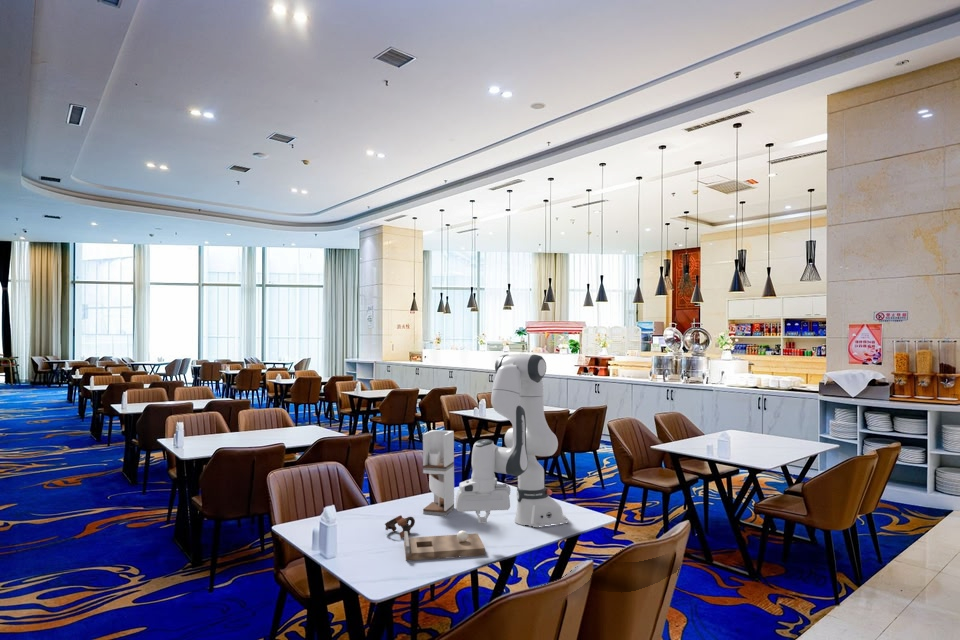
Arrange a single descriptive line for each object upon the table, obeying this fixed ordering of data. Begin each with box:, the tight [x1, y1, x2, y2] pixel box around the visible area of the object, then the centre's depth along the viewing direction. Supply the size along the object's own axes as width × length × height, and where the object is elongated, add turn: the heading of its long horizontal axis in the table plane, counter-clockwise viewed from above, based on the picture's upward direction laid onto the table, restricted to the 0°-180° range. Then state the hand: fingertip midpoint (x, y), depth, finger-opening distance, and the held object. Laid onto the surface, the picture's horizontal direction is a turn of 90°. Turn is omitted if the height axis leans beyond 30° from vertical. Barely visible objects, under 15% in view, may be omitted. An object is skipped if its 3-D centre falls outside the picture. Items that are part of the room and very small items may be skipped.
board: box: [403, 531, 486, 562], centre depth 211 cm, size 28×16×5 cm, turn 100°
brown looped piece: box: [384, 514, 416, 539], centre depth 229 cm, size 12×10×8 cm
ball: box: [456, 530, 469, 542], centre depth 212 cm, size 4×4×4 cm
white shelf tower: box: [422, 429, 455, 516], centre depth 259 cm, size 11×11×35 cm
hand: (482, 522), depth 213 cm, fingers closed
